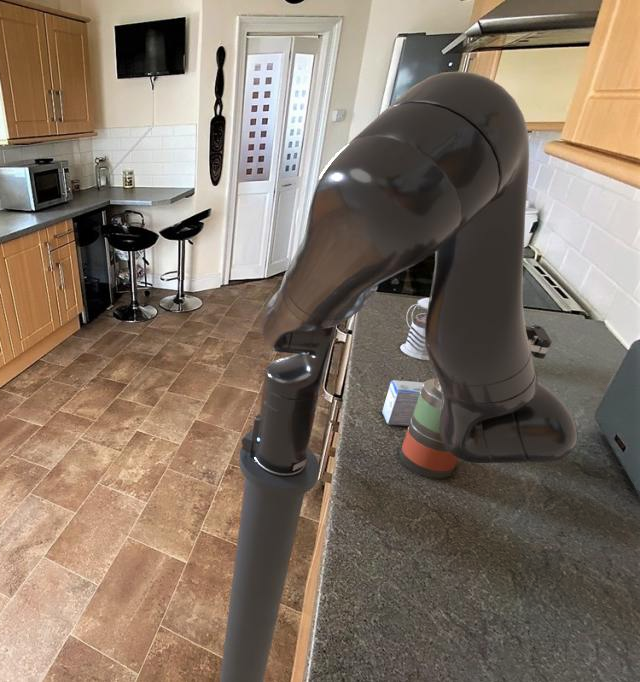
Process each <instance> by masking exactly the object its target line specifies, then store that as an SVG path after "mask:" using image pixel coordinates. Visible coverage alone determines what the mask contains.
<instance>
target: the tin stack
mask: <svg viewBox="0 0 640 682" xmlns="http://www.w3.org/2000/svg"><path fill="white" fill-rule="evenodd" d="M435 379H436V378H430V379H427V380H425V381H424V382H423V383H424V384H423V387H422V390H421V392H420V395H419V398H418V401H417V404H416V406H415V409H414V413H413V416H412V418H411V420H410V425H409V426H407V430H406V433H405V436H404V439H403V442H402V445H401V448H400V451H399V458H400V461H401V462H402V463H403V464H404V466H405V467H407V468H408V469H409V470H411V471H412V472H414V473H416V474H418V475H419V476H423V477H426V478H431V479H446V478H448V477H450V476H451V475H452V474H453V472H454V469H455V467H456V465H457V464H458V460H459V458H458V457H456V456H454V455H453V454H452V453H451V452H449V451H448V449H447V448H446V447H445V445H444V444H443V441H442V439H441V436H440V430H439V413H440V408H441V403H442V393H441V392H440V391H438V390H437V389H436V388H435V387H434V381H435Z"/></svg>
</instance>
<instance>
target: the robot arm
mask: <svg viewBox="0 0 640 682" xmlns="http://www.w3.org/2000/svg"><path fill="white" fill-rule="evenodd" d="M528 134H529V133H528V127H527V123H526V120H525V116H524V114H523V111H522V110H521V109H520V106H519V105H518V103H517V101H516V99H515V98H514V97H513V96H512V95H511V94H510V93H509V92H508V91H507V90H506V88H505V87H503V86H502V85H500V84H499V83H498V82H496V81H494V80H492V79H491V78H489V77H487V76H483V75H480V74H477V73H475V72H467V71H448V72H441V73H438V74H434V75H431V76H429V77H427V78H425V79H423V80H421V81H420V82H417V83H416V84H415V85H413V86H412V87H411V88H409V89H408V90H407V91H405V92H404V93H403V94H401V95H400V96H399V97H398V98H397V99H396V100H395V101H394V102H392V104H390V105H389V106H388V107H387V108H385V110H383V111H382V112H381V113H380V114H379V115H378V116H377V117H376V118H374V120H373V121H371V122H370V123H369V124H368V125H367V126H366V127H365V128H363V130H362V131H360V132H359V133H358V134H357V135H356V136H355V137H354V138H352V139H351V140H350V141H349V143H347V144H346V145H344V147H343V148H342V149H340V150H339V152H337V153H336V154H335V156H334V157H332V159H331V160H330V161H329V162H328V164H327V165H326V166H325V168H324V169H323V171H322V172H321V174H320V176H319V178H318V180H317V182H316V185H315V187H314V191H313V193H312V197H311V201H310V204H309V210H308V214H307V220H306V225H305V229H304V236H303V238H302V241H301V243H300V244H299V246H298V247H297V248H296V252H295V254H294V255H293V257H292V259H291V261H290V262H289V264H288V267H287V268H286V271H285V273H284V275H283V277H282V281H281V284H280V286H279V288H278V290H277V291H276V292H275V293H274V294H273V295H272V297H271V298H270V300H269V301H268V303H267V304H266V307H265V308H264V310H263V311H264V312H263V315H262V319H261V336H262V340H263V343H264V345H265V347H267V348H268V349H269V350H270V351H273V352H276V353H281V354H292V355H289V356H286V357H282V358H278V359H275V360H273V361H272V362H270V363H268V365H267V366H266V368H265V371H264V377H263V386H262V393H261V400H260V407H259V413H257V415H256V416H255V417H254V420H253V426H252V428H251V429H250V430H249V431H248V432H247V433H246V434H245V436H243V437H242V438H241V441H240V442H241V447H242V445H243V447H242V450H244V451H246V452H248V453H250V457H251V458H253V459H254V460H255V462H256V464H257V465H258V466H259V467H260V468H261V469H262V470H264V471H266V472H267V473H269V474H272V475H275V476H280V477H292V476H295V475H298V474H299V473H301V472H302V471H303V469H304V467H305V464H306V460H307V459H306V455H307V450H308V448H309V445H310V441H311V437H312V436H311V435H312V431H313V426H314V421H315V416H316V411H317V408H318V402H319V397H320V393H321V388H322V385H323V380H324V377H325V374H326V373H325V372H326V368H327V365H328V361H329V356H330V354H331V351H332V346H333V344H334V339H335V336H336V331H337V326H339V325H340V324H343V323H345V322H346V321H348V320H349V319H351V318H352V317H353V316H354V315H356V314H357V313H358V312H360V311H361V310H362V309H363V308H365V306H366V305H367V304H368V303H369V302H370V301H371V300H372V299H373V297H375V295H376V292H377V290H378V288H379V285H380V284H382V283H383V282H385V281H387V280H389V279H390V278H392V277H394V276H396V275H398V274H400V273H402V272H404V271H406V270H408V269H410V268H412V267H414V266H416V265H417V264H419V263H421V262H423V261H424V260H425V259H427V258H428V257H430V256H432V255H433V254H434V253H435V256H434V270H433V277H432V282H431V289H430V294H429V297H428V298H429V304H428V309H426V321H425V337H424V338H425V344H426V350H427V353H428V357H429V360H428V361H429V362H430V365H431V367H432V369H433V372H434V374H435V376H436V377H437V379H438V381H439V384H440V386H441V389H442V403H441V408H440V413H439V430H440V436H441V439H442V441H443V444H444V445H445V447H446V448H447V449H448V451H449V452H451V453H452V454H453V455H454V456H456V457H458V458H459V459H460V460H462V461H463V462H467V463H471V464H472V463H473V464H511V463H512V464H513V463H515V464H516V463H528V462H529V463H550V462H556V461H560V460H562V459H564V458H566V457H568V456H569V455H570V454H572V452H573V451H574V450H575V448H576V447H577V443H578V440H579V439H578V438H579V432H578V427H577V423H576V421H575V418H574V416H573V415H572V413H571V412H570V410H569V409H568V408H567V406H566V405H565V403H564V402H563V400H561V398H559V397H558V396H557V395H556V394H555V393H554V392H553V391H551V390H550V389H549V388H548V387H546V386H545V385H543V384H542V383H540V382H539V381H538V375H537V371H536V366H535V363H534V358H537V359H541V360H542V359H545V358H546V355H547V353H548V351H549V349H550V347H551V345H552V343H553V341H552V339H551V337H550V336H549V335H548V333H547V331H546V330H545V328H544V327H543V326H540V325H535V324H533V325H532V326H531V327H530V326H527V323H526V321H525V312H524V303H523V300H524V299H523V293H524V291H523V290H524V289H523V288H524V287H523V285H524V257H525V255H524V252H525V233H526V208H527V196H528V185H529V184H528V183H529V172H530V169H529V168H530V140H529V135H528ZM459 459H458V460H459Z"/></svg>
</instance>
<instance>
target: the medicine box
mask: <svg viewBox="0 0 640 682" xmlns="http://www.w3.org/2000/svg"><path fill="white" fill-rule="evenodd" d="M423 384H424V382H420V381H406V380H396V379H395V380H394V379H393V380H391V382H390V384H389V387H388V390H387V395H386V398H385V401H384V405H383V408H382V415H383V417H384V419H385V422H386V424H387V425H393V426H403V427H409V425H410V420H411V418H412V416H413V413H414V409H415V406H416V404H417V401H418V398H419V395H420V392H421V390H422V387H423Z"/></svg>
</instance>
